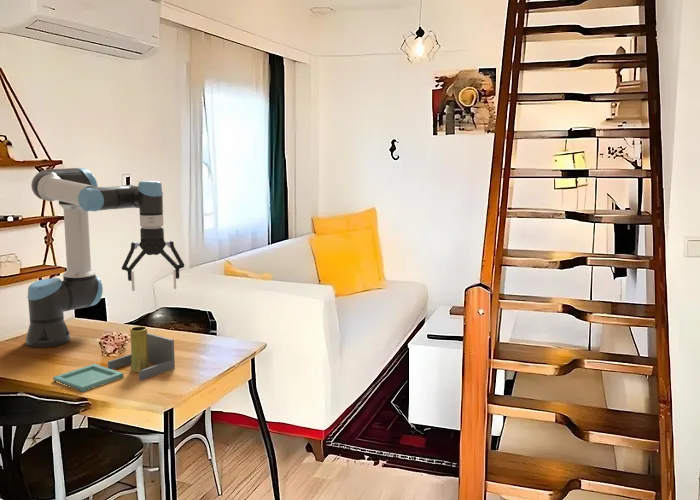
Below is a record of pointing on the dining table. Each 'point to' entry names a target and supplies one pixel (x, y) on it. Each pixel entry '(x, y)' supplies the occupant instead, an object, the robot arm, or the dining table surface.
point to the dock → (152, 357)
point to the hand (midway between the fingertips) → (154, 289)
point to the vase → (139, 349)
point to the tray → (88, 377)
